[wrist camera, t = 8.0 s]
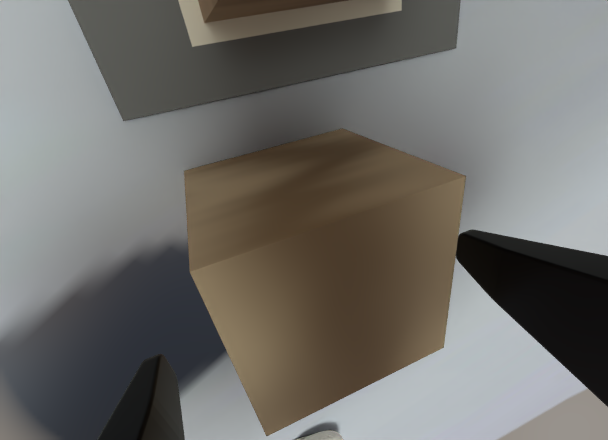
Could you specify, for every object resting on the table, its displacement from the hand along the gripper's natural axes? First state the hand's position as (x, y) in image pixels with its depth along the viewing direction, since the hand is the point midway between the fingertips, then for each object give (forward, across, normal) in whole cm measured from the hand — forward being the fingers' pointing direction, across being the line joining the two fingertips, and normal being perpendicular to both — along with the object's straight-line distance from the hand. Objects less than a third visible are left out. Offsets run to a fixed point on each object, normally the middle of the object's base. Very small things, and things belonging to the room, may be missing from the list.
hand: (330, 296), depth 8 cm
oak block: (+5, 0, 0) cm, 5 cm away
